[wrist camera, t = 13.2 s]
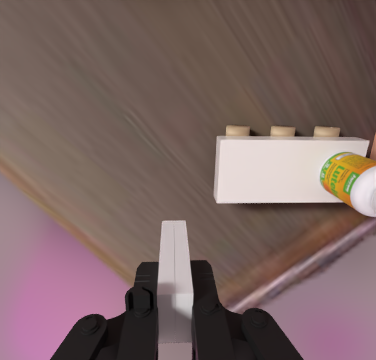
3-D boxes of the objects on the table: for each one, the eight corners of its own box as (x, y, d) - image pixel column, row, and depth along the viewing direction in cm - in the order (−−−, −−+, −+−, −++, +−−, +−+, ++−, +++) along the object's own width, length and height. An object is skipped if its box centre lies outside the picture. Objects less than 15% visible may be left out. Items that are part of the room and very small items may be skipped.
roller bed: (220, 193, 39) (224, 202, 36) (224, 124, 35) (229, 127, 33) (318, 193, 40) (330, 201, 37) (331, 126, 36) (345, 129, 34)
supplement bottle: (317, 154, 32) (377, 180, 22) (361, 147, 32) (438, 170, 22) (316, 195, 33) (371, 234, 24) (358, 188, 33) (428, 225, 24)
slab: (213, 195, 35) (216, 203, 33) (217, 135, 33) (220, 139, 30) (342, 194, 36) (354, 202, 34) (355, 137, 34) (369, 140, 31)
